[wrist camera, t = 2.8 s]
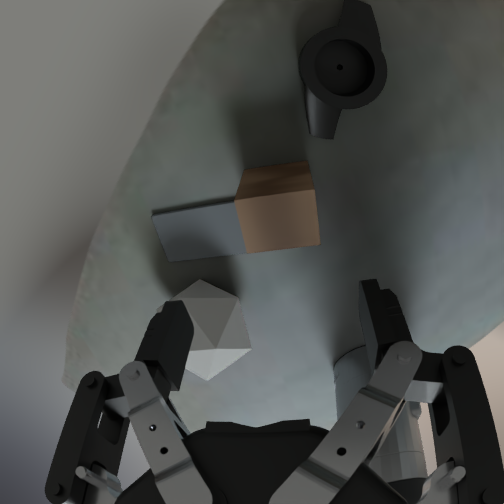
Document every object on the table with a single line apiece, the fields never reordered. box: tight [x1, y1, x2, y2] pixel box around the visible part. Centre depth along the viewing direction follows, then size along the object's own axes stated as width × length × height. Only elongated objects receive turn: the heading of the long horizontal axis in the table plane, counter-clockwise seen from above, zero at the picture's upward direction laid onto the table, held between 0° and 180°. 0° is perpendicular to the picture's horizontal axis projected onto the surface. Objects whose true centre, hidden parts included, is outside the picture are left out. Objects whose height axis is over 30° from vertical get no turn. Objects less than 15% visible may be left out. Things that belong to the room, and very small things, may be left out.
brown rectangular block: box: [234, 161, 321, 253], centre depth 23 cm, size 5×4×6 cm
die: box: [157, 279, 252, 381], centre depth 29 cm, size 8×9×10 cm
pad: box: [151, 201, 247, 262], centre depth 28 cm, size 8×5×1 cm, turn 102°
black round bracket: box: [299, 0, 387, 139], centre depth 18 cm, size 8×10×3 cm
